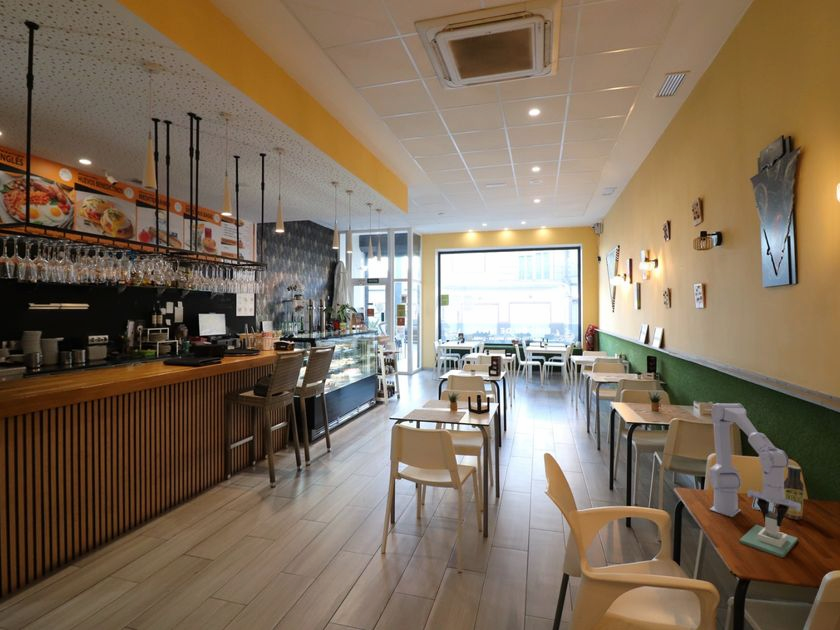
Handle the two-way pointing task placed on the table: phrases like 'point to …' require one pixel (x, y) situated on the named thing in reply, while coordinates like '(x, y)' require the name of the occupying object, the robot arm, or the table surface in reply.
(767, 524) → the plug
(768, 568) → the table surface
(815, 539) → the table surface
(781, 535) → the socket board
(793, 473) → the sauce bottle
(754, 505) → the smartphone
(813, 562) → the table surface
